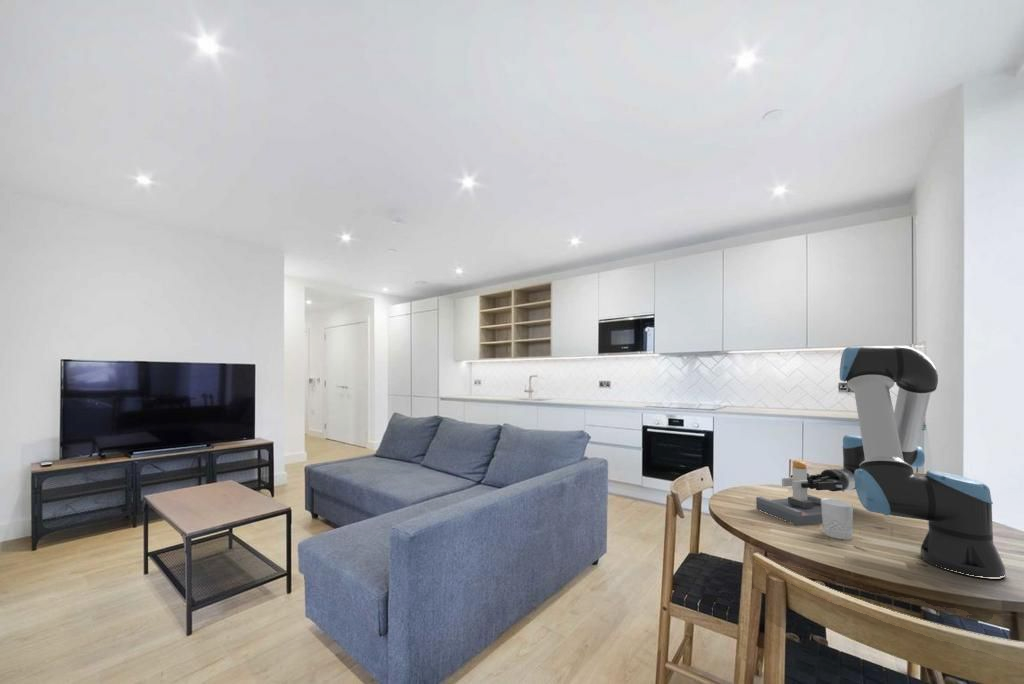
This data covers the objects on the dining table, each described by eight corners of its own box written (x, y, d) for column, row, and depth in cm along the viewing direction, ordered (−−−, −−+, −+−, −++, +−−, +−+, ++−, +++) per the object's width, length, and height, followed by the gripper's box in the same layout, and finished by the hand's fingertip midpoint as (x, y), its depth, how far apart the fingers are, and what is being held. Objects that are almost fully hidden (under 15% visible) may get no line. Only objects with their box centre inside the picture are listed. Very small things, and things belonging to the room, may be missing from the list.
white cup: (859, 538, 126) (858, 505, 127) (843, 542, 123) (842, 507, 124) (831, 529, 133) (831, 497, 134) (815, 532, 131) (814, 499, 131)
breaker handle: (812, 507, 144) (811, 463, 145) (803, 508, 143) (802, 464, 144) (796, 502, 150) (795, 459, 151) (788, 502, 149) (787, 460, 150)
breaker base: (847, 520, 142) (847, 506, 142) (797, 525, 136) (797, 511, 136) (803, 505, 157) (803, 493, 157) (756, 509, 151) (756, 496, 151)
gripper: (861, 497, 144) (810, 502, 137) (815, 484, 160) (767, 488, 153) (860, 475, 145) (810, 479, 138) (815, 464, 160) (767, 467, 153)
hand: (787, 483), depth 145 cm, fingers closed on breaker handle, 3 cm apart
